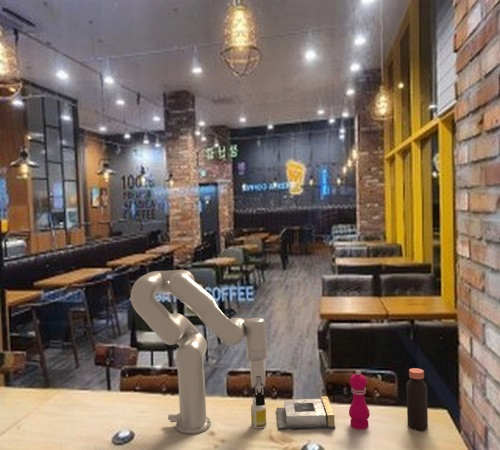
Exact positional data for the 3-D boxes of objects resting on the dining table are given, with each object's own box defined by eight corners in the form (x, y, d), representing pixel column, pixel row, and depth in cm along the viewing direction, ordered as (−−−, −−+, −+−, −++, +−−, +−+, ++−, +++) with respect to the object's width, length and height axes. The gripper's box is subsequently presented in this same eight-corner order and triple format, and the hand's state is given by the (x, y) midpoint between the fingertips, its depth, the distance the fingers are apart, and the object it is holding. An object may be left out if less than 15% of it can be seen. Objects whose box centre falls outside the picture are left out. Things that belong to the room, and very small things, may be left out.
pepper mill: (370, 430, 159) (369, 374, 158) (349, 429, 161) (347, 373, 160) (369, 421, 166) (367, 367, 165) (349, 420, 168) (347, 366, 167)
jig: (278, 430, 162) (278, 416, 162) (276, 410, 178) (276, 397, 178) (335, 428, 162) (334, 414, 161) (328, 408, 178) (327, 396, 177)
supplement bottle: (269, 424, 167) (268, 397, 166) (261, 430, 162) (260, 403, 162) (256, 420, 170) (255, 394, 169) (248, 427, 165) (247, 400, 165)
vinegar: (412, 420, 166) (411, 365, 165) (431, 426, 161) (430, 370, 160) (404, 426, 161) (402, 371, 160) (422, 433, 156) (421, 375, 156)
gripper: (247, 346, 174) (250, 390, 174) (246, 361, 156) (249, 410, 157) (266, 345, 174) (270, 389, 174) (268, 360, 156) (271, 409, 157)
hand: (260, 399), depth 166 cm, fingers open, 9 cm apart
